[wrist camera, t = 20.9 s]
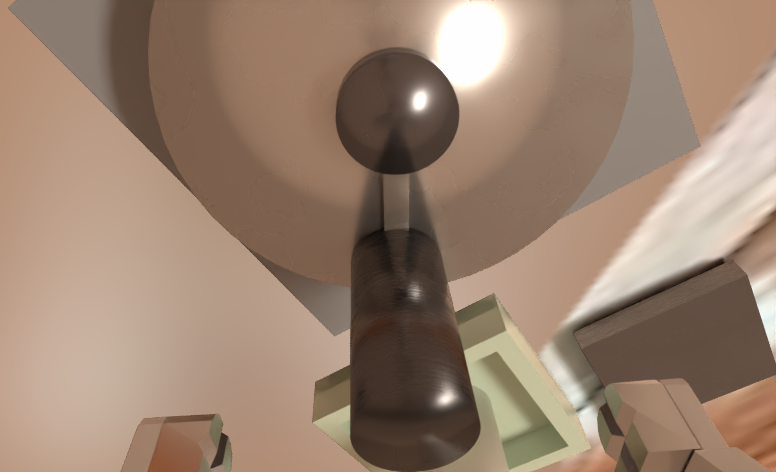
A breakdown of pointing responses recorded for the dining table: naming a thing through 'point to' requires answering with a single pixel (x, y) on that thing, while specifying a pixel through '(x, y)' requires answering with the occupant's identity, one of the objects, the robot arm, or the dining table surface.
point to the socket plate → (686, 337)
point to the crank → (392, 164)
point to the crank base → (325, 301)
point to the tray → (498, 380)
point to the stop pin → (481, 443)
